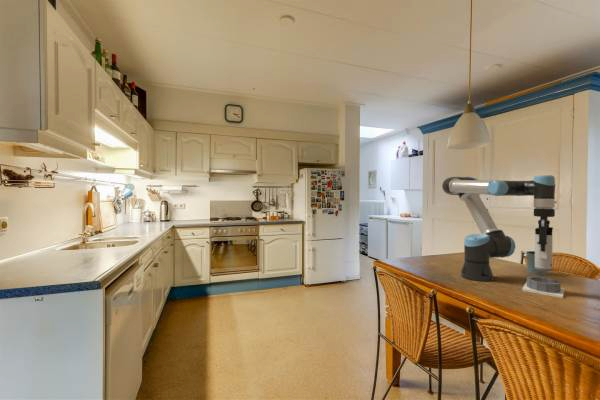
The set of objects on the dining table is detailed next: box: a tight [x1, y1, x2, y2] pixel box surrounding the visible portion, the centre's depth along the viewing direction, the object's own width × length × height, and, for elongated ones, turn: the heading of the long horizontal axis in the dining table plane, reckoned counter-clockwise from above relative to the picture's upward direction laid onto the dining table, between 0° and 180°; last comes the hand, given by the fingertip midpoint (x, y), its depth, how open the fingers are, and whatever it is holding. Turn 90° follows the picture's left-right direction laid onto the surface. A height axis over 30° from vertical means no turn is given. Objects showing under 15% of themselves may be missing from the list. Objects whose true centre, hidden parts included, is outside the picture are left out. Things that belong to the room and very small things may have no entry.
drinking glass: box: [525, 250, 548, 276], centre depth 162 cm, size 10×10×12 cm
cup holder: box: [521, 275, 565, 299], centre depth 132 cm, size 14×14×5 cm
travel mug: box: [534, 226, 554, 272], centre depth 132 cm, size 6×7×20 cm
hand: (543, 256), depth 132 cm, fingers closed on travel mug, 6 cm apart
